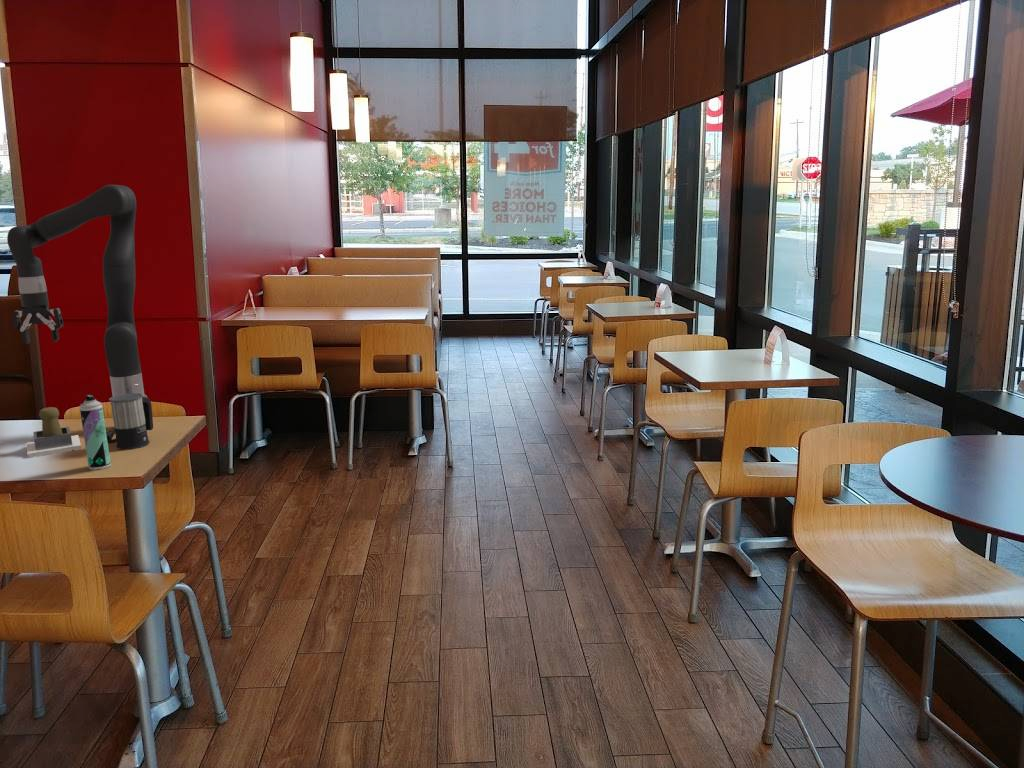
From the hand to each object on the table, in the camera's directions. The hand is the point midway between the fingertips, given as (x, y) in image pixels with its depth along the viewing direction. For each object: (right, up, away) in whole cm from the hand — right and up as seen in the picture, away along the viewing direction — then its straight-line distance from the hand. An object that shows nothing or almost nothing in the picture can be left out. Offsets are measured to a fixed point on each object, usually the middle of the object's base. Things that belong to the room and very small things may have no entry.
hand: (41, 342), depth 285 cm
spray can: (+36, -36, -38) cm, 64 cm away
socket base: (+13, -32, -17) cm, 38 cm away
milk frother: (+33, -31, -16) cm, 48 cm away
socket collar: (+13, -31, -17) cm, 37 cm away
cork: (+13, -31, -17) cm, 38 cm away
